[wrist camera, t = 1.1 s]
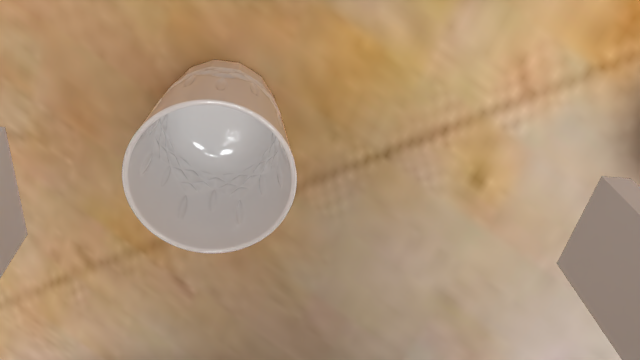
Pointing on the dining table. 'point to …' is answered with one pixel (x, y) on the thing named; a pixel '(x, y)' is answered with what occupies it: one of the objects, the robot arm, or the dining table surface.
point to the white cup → (211, 162)
